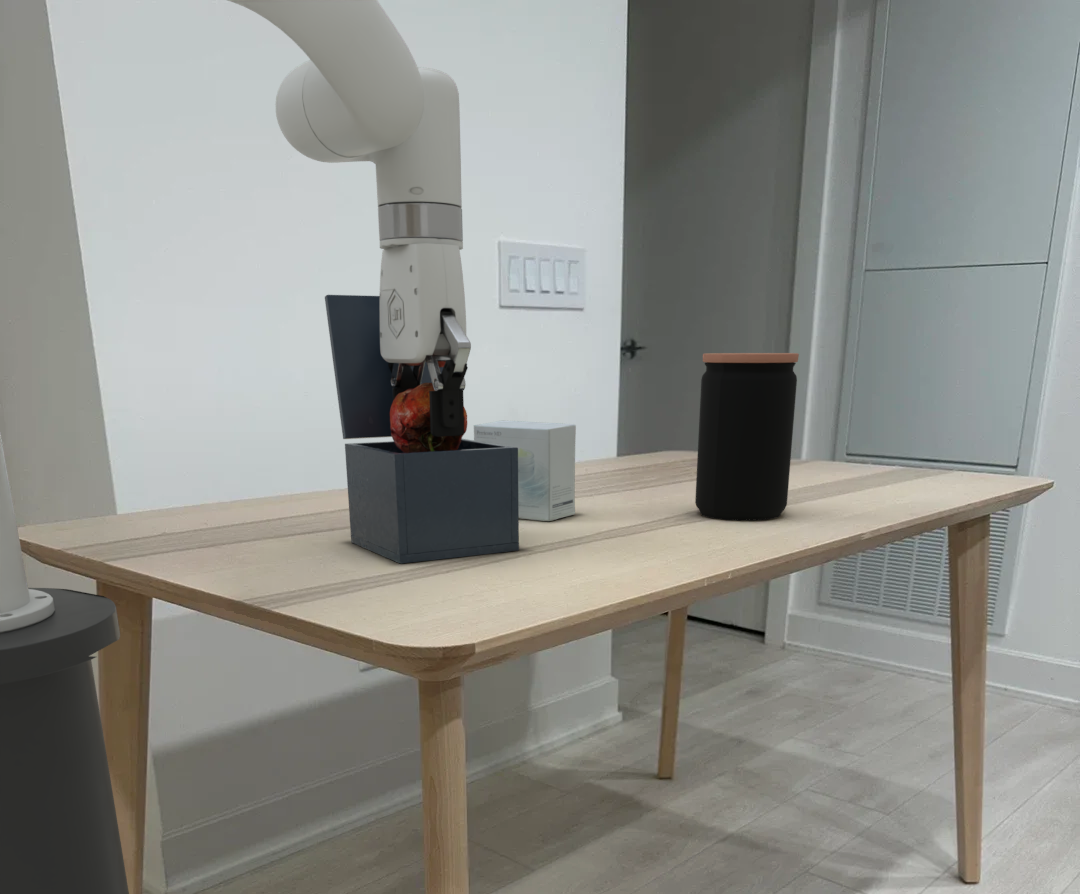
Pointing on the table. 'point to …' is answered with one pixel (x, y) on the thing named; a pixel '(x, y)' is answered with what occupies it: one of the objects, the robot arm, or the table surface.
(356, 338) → the tin lid
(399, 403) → the pomegranate
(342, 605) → the table surface
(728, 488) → the coffee jar
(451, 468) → the tea tin
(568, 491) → the cosmetics box
